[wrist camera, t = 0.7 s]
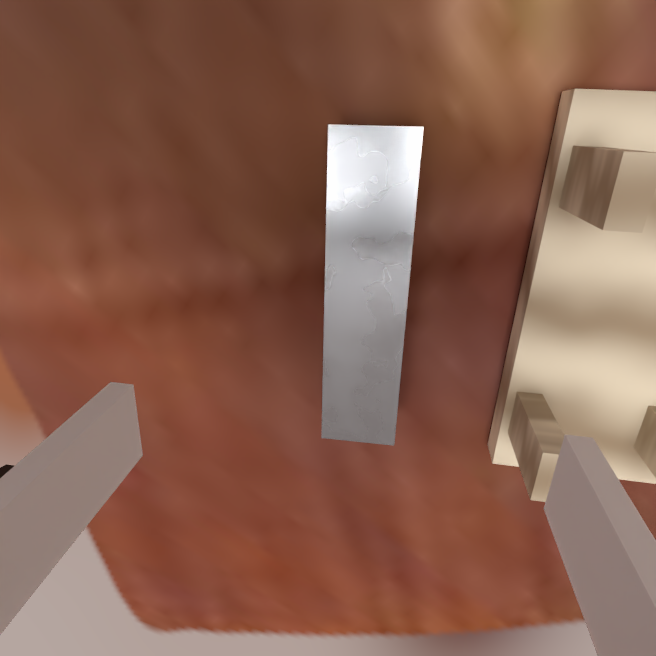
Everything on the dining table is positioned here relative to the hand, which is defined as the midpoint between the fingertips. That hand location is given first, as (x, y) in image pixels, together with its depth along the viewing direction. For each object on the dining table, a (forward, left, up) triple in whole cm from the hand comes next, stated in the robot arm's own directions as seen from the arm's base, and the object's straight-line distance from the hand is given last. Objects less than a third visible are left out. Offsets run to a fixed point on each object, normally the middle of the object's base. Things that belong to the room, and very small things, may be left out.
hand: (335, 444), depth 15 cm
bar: (0, 0, -17) cm, 17 cm away
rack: (0, +14, -17) cm, 22 cm away
